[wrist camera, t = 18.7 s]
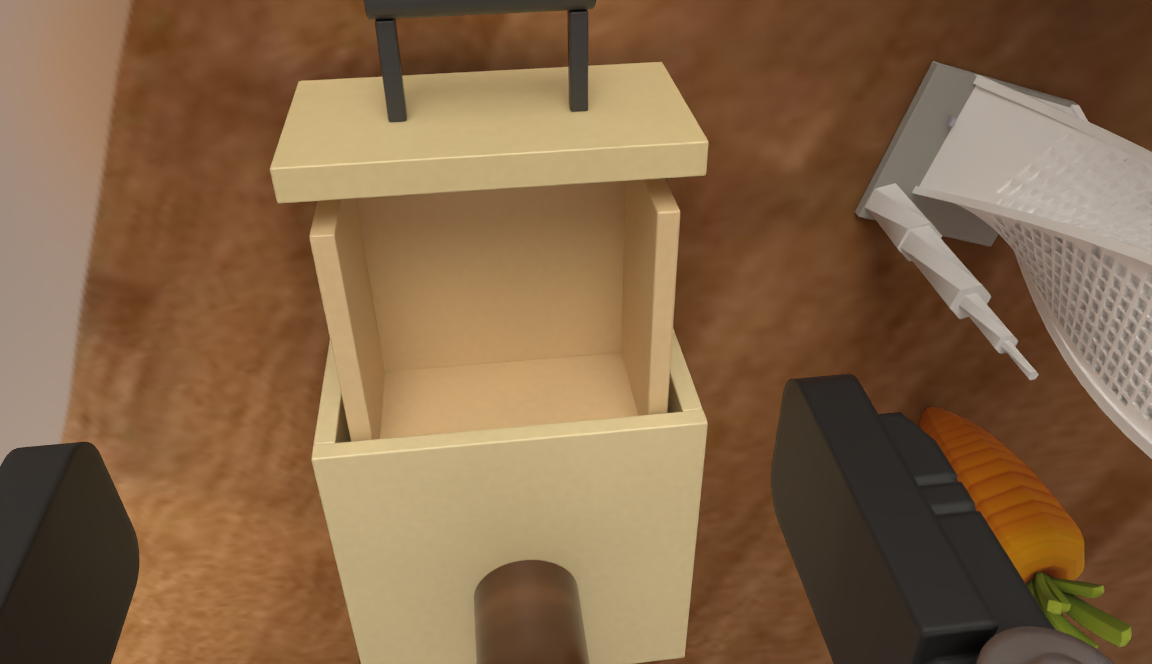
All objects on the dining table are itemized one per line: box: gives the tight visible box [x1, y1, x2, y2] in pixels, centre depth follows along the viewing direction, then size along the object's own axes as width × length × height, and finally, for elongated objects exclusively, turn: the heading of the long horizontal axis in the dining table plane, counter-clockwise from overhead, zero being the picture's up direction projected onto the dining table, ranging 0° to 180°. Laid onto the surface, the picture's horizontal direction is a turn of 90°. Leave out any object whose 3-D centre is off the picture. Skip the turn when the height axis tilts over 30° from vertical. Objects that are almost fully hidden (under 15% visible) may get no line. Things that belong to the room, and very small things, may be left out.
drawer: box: [270, 0, 709, 442], centre depth 33 cm, size 18×13×7 cm
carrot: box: [920, 407, 1132, 649], centre depth 42 cm, size 5×5×15 cm
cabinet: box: [311, 329, 708, 664], centre depth 42 cm, size 15×15×9 cm
